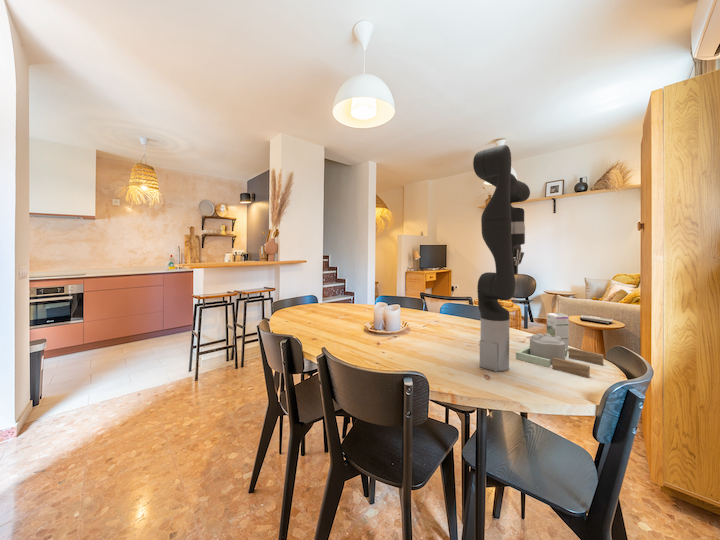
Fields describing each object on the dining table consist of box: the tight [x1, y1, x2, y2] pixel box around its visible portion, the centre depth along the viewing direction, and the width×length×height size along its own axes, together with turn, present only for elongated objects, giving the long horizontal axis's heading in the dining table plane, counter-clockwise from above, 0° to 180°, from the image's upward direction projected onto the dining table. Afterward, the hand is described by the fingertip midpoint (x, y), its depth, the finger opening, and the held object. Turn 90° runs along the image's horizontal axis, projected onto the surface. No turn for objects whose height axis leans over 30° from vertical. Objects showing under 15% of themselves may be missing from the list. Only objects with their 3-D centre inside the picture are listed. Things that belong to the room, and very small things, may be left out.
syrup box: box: [546, 312, 570, 352], centre depth 119 cm, size 6×6×14 cm
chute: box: [551, 347, 604, 378], centre depth 100 cm, size 17×10×4 cm, turn 127°
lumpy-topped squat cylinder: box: [529, 332, 566, 364], centre depth 109 cm, size 10×13×9 cm
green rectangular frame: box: [515, 345, 568, 368], centre depth 109 cm, size 17×11×2 cm, turn 127°
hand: (514, 274), depth 122 cm, fingers closed
